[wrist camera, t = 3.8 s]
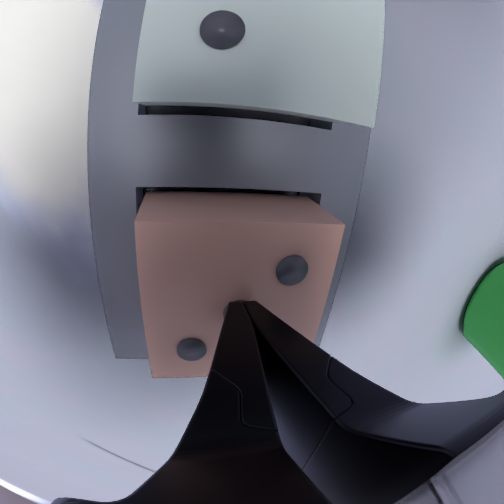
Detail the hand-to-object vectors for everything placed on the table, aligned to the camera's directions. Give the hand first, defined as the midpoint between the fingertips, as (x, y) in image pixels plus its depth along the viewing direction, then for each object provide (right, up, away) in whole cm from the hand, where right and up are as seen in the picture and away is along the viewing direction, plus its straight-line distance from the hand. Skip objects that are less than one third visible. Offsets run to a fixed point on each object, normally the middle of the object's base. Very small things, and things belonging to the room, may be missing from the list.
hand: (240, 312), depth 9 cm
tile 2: (0, +9, -2) cm, 9 cm away
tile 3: (-1, +1, +3) cm, 3 cm away
